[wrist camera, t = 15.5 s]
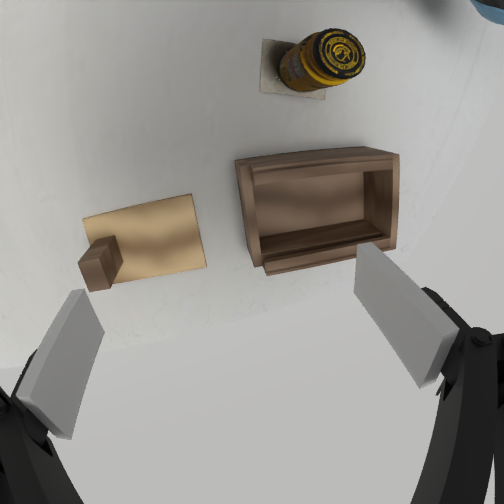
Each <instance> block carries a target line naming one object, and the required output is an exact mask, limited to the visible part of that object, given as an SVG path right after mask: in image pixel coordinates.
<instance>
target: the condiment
mask: <svg viewBox="0 0 504 504" xmlns="http://www.w3.org/2000/svg"><path fill="white" fill-rule="evenodd" d="M286 51H287V52H286ZM365 58H366V57H365V52H364V48H363V46H362V45H361V43H360V42H359V41H358V39H357V38H356V37H355V36H353V35H352V34H351V33H349V32H348V31H346V30H342V29H336V28H335V29H332V28H329V29H326V30H324V31H322V32H317V33H313V34H311V35H309V36H308V37H306V38H305V39H304V40H302V41H301V42H300V43H299V44H296V43H290V42H283V41H275V40H268V39H263V46H262V61H261V78H260V92H268V93H278V94H287V95H294V96H302V97H309V98H316V99H322V100H325V88H327V87H333V86H337V85H339V84H343V83H344V82H346V81H347V80H349V79H351V78H353V77H355V76H357V75H358V74H359V73H360V72H361V71H362V70H363V68H364V65H365ZM275 76H277V77H278V78H276V77H275ZM278 79H280V80H278Z"/></svg>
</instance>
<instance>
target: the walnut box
mask: <svg viewBox="0 0 504 504" xmlns="http://www.w3.org/2000/svg"><path fill="white" fill-rule="evenodd" d="M235 166H236V173H237V179H238V186H239V193H240V200H241V206H242V213H243V220H244V226H245V233H246V240H247V246H248V250H249V253H250V256H251V259H252V262H253V265H254V267H259V266H263V268H264V270H265V273H266V275H267V276H270V275H275V274H280V273H285V272H290V271H295V270H300V269H305V268H310V267H315V266H320V265H325V264H329V263H334V262H339V261H343V260H348V259H353V258H357V244H362V243H368V242H372V243H373V244H374V245H375V246H376V247H377V248H379V249H380V250H381V251H382V252H384V251H389V250H393V249H396V241H397V229H398V212H399V181H400V162H399V154H395V153H391V152H387V151H383V150H378V149H374V148H369V147H348V148H333V149H321V150H310V151H300V152H291V153H282V154H274V155H267V156H259V157H252V158H245V159H239V160H235Z"/></svg>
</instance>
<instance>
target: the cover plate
mask: <svg viewBox="0 0 504 504" xmlns="http://www.w3.org/2000/svg"><path fill="white" fill-rule="evenodd" d="M82 221H83V225H84V228H85V231H86V234H87V237H88V240H89V243H90V247H89V249H88V250H87V251H86V252H85V254H84V255H83V256H82V258H81V259H80V260H79V261H78V265H79V268H80V270H81V273H82V275H83V278H84V280H85V283H86V285H87V287H88V290H89V292H93V291H99V290H105V289H110V288H111V286H112V284H116V283H122V282H127V281H133V280H139V279H144V278H150V277H155V276H161V275H166V274H172V273H177V272H183V271H188V270H194V269H199V268H205V267H207V266H206V261H205V256H204V252H203V247H202V243H201V238H200V233H199V228H198V224H197V219H196V214H195V209H194V204H193V199H192V194H187V195H182V196H177V197H173V198H168V199H163V200H158V201H154V202H149V203H145V204H140V205H136V206H132V207H127V208H123V209H119V210H115V211H111V212H107V213H103V214H99V215H95V216H91V217H88V218H84V219H83V220H82Z"/></svg>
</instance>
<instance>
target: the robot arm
mask: <svg viewBox="0 0 504 504" xmlns="http://www.w3.org/2000/svg"><path fill="white" fill-rule="evenodd" d="M470 1H471V2H472V4H473V5H474V6H475V8H476V9H477V11H478V12H479V13H480V14H481V15H482V16H483V17H485V18H486V19H487V20H489V21H491V22H494V23H497V24H501V25H504V0H470ZM354 294H355V295H356V296H357V298H358V299H359V300H360V302H361V303H362V305H363V306H364V307H365V309H366V310H367V311H368V313H369V314H370V316H371V317H372V318H373V320H374V321H375V323H376V324H377V325H378V327H379V329H380V330H381V331H382V333H383V334H384V336H385V337H386V339H387V340H388V341H389V343H390V345H391V346H392V347H393V349H394V350H395V352H396V353H397V355H398V356H399V358H400V359H401V361H402V362H403V364H404V365H405V367H406V368H407V370H408V372H409V373H410V375H411V376H412V378H413V379H414V381H415V382H416V384H417V386H418V387H419V389H421V388H423V387H426V386H428V385H430V384H432V383H434V382H435V381H436V379H437V377H438V375H439V373H440V372H441V373H442V374H443V376H444V377H445V378H444V380H443V382H442V383H441V386H440V387H439V389H438V391H437V393H436V395H438V394H439V393H440V391H441V394H440V400H439V405H438V411H437V416H436V420H435V425H434V430H433V434H432V438H431V442H430V446H429V449H428V453H427V457H426V460H425V463H424V467H423V470H422V473H421V476H420V479H419V482H418V485H417V488H416V490H415V493H414V496H413V498H412V501H411V503H410V504H484V500H485V496H486V492H487V488H488V483H489V478H490V473H491V467H492V461H493V454H494V468H495V504H504V333H502V334H496V335H492V334H491V333H490V332H489V331H487V330H486V329H483V328H480V327H473V328H471V327H470V326H469V325H468V324H467V323H466V322H465V321H464V320H463V319H462V318H461V317H460V316H459V315H458V314H457V313H456V312H455V311H454V310H453V309H452V308H451V307H449V305H448V304H447V303H446V302H445V301H444V300H443V299H442V298H441V297H440V296H439V295H438V294H437V293H436V292H434V291H433V290H431V289H429V288H427V287H424V288H420V287H419V286H418V285H417V284H416V283H415V282H414V281H413V280H411V278H409V276H408V275H406V274H405V273H404V272H403V271H402V270H401V269H400V268H399V267H398V266H397V265H396V264H395V263H394V262H393V261H392V260H391V259H390V258H388V257H387V256H386V255H385V254H384V253H383V252H382V251H381V250H380V249H379V248H377V247H376V246H375V245H374V244H373V243H372V242H368V243H362V244H357V258H356V272H355V285H354ZM104 333H105V332H104V330H103V328H102V326H101V324H100V322H99V320H98V318H97V316H96V314H95V312H94V309H93V307H92V305H91V303H90V301H89V299H88V296H87V294H86V292H85V290H84V289H79V290H72V291H71V293H70V294H69V296H68V298H67V299H66V301H65V302H64V304H63V306H62V307H61V309H60V311H59V312H58V314H57V316H56V317H55V319H54V321H53V322H52V324H51V326H50V328H49V329H48V331H47V333H46V335H45V337H44V338H43V340H42V342H41V344H40V346H39V348H38V349H36V350H35V352H34V353H33V354H32V355H31V356H30V357H29V359H28V361H27V363H26V365H25V368H24V369H23V371H22V374H21V375H20V377H19V379H18V381H17V383H16V386H15V388H14V390H13V392H12V394H11V397H9V396H8V395H7V394H6V393H5V392H4V391H3V389H2V388H1V387H0V504H84V503H83V501H82V500H81V498H80V496H79V495H78V493H77V491H76V489H75V488H74V486H73V484H72V482H71V480H70V479H69V477H68V475H67V473H66V471H65V469H64V467H63V465H62V463H61V461H60V459H59V457H58V454H57V452H56V450H55V448H54V446H53V443H52V441H51V440H50V438H49V437H48V436H47V433H48V430H49V431H50V432H51V433H52V434H54V435H55V436H56V437H57V438H62V439H68V440H71V439H72V434H73V430H74V427H75V423H76V419H77V415H78V412H79V408H80V405H81V401H82V398H83V394H84V391H85V388H86V384H87V381H88V378H89V375H90V372H91V369H92V366H93V363H94V360H95V357H96V355H97V352H98V349H99V346H100V343H101V341H102V338H103V335H104Z"/></svg>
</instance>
